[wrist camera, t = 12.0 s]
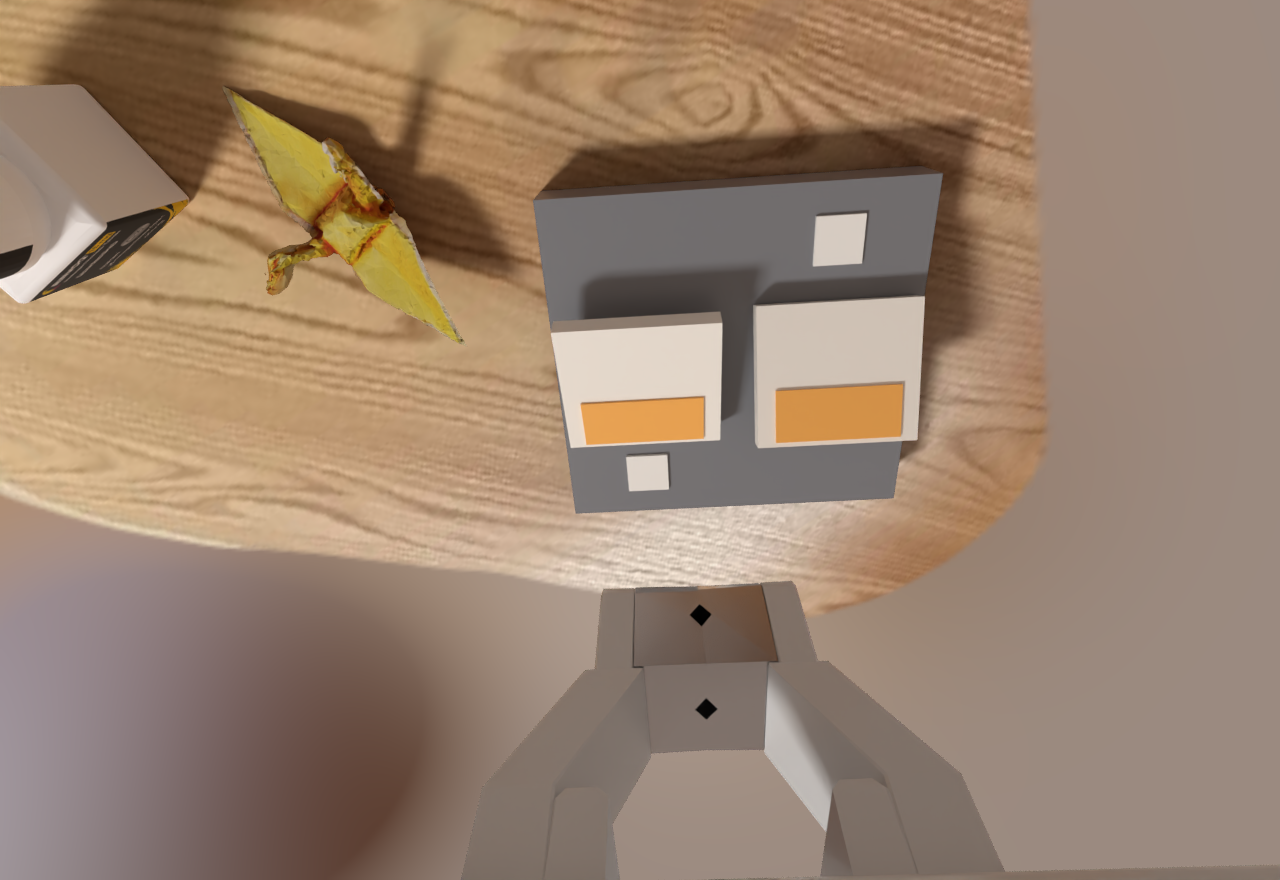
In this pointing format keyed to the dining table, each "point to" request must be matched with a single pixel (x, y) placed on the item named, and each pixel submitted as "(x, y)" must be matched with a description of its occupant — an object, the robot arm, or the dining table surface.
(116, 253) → the medicine bottle
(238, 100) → the origami crane
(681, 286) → the switch panel
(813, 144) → the dining table surface
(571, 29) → the dining table surface
